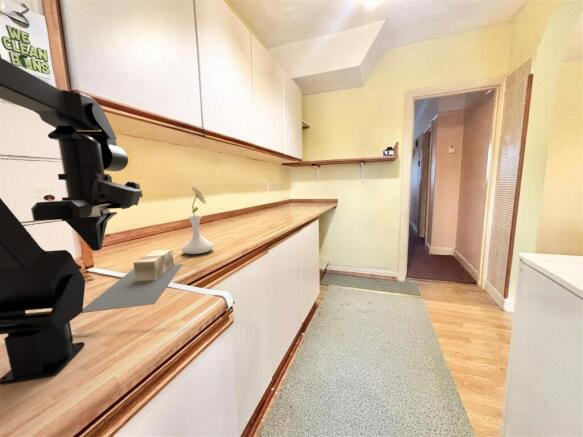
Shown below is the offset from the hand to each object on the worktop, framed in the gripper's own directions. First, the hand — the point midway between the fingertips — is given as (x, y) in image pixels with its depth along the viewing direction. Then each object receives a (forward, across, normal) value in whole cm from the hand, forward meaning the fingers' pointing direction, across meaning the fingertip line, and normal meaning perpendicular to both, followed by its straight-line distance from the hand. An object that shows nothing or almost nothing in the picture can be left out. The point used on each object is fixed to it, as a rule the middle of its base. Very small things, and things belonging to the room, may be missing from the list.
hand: (97, 250), depth 46 cm
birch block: (+10, +14, -2) cm, 18 cm away
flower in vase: (+13, +42, -11) cm, 45 cm away
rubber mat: (+13, +13, -2) cm, 18 cm away
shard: (+14, +18, +16) cm, 28 cm away
